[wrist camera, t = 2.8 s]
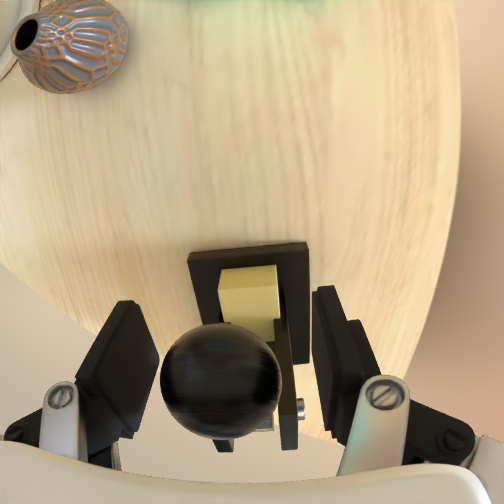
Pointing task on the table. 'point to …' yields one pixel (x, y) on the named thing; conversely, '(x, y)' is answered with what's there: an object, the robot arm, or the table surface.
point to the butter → (250, 299)
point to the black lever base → (285, 328)
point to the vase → (70, 45)
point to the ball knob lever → (221, 382)
